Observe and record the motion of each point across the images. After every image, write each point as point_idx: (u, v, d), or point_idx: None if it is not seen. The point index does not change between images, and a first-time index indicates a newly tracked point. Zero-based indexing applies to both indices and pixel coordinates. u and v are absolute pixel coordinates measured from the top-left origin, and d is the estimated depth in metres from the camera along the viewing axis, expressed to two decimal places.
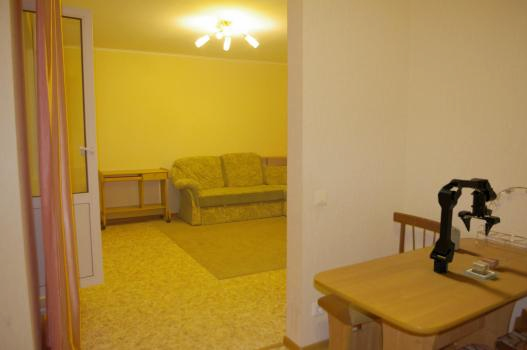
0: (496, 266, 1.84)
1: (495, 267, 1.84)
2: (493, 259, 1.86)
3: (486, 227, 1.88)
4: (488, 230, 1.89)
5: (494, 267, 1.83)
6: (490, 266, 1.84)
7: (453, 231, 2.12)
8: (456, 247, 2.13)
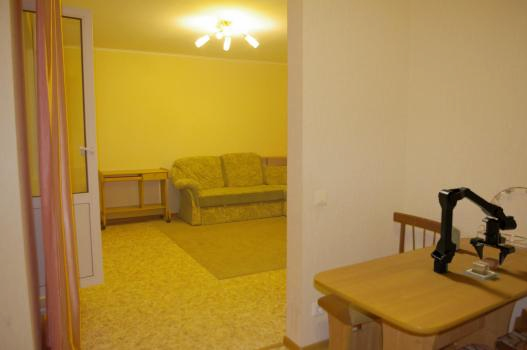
0: (496, 266, 1.84)
1: (495, 267, 1.84)
2: (493, 259, 1.86)
3: (500, 256, 1.79)
4: (502, 259, 1.80)
5: (494, 267, 1.83)
6: (490, 266, 1.84)
7: (453, 231, 2.12)
8: (456, 247, 2.13)
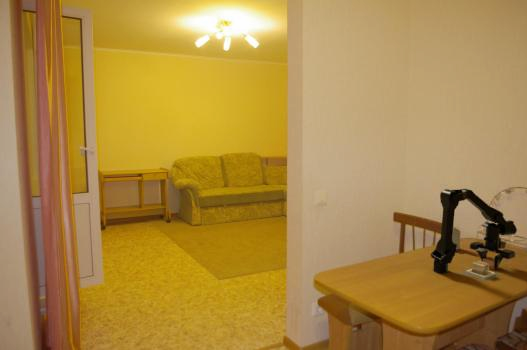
0: None
1: None
2: (493, 259, 1.86)
3: (496, 260, 1.81)
4: (498, 263, 1.82)
5: (494, 267, 1.83)
6: (490, 266, 1.84)
7: (453, 231, 2.12)
8: (456, 247, 2.13)
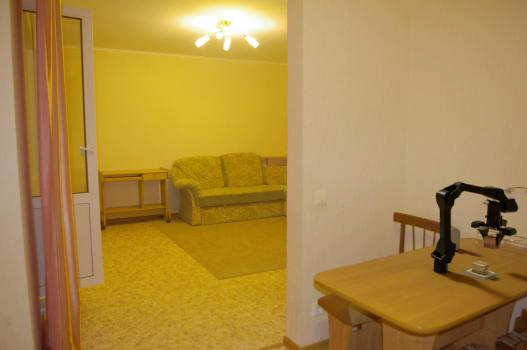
0: None
1: None
2: (494, 237, 1.84)
3: (497, 238, 1.80)
4: (499, 241, 1.81)
5: (495, 245, 1.82)
6: (491, 244, 1.82)
7: (453, 231, 2.12)
8: (456, 247, 2.13)
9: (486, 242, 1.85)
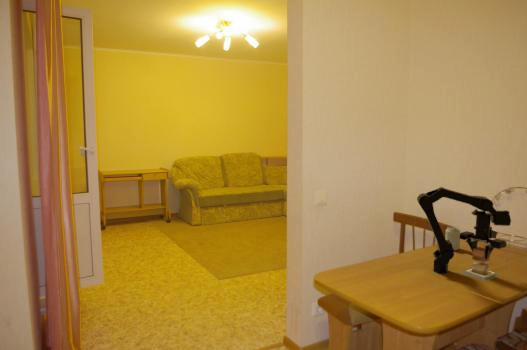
0: None
1: None
2: (484, 249, 1.77)
3: (486, 250, 1.73)
4: (488, 253, 1.74)
5: (484, 257, 1.75)
6: (480, 256, 1.75)
7: (453, 231, 2.12)
8: (456, 247, 2.13)
9: (475, 254, 1.77)
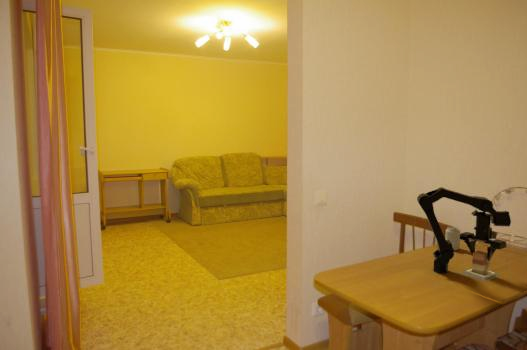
0: (486, 260, 1.76)
1: (485, 261, 1.75)
2: (483, 253, 1.77)
3: (488, 251, 1.72)
4: (491, 254, 1.73)
5: (484, 261, 1.75)
6: (480, 260, 1.75)
7: (453, 231, 2.12)
8: (456, 247, 2.13)
9: (475, 258, 1.78)
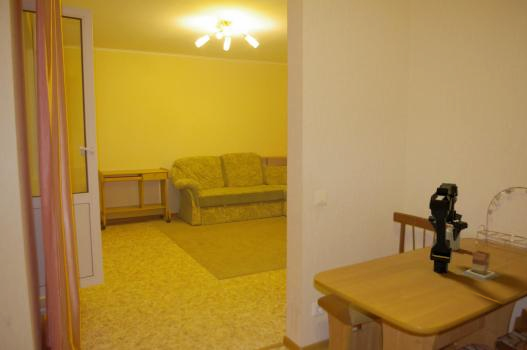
0: (486, 260, 1.76)
1: (485, 261, 1.75)
2: (483, 253, 1.77)
3: (453, 232, 1.88)
4: (456, 235, 1.89)
5: (484, 261, 1.75)
6: (480, 260, 1.75)
7: None
8: (456, 247, 2.13)
9: (475, 258, 1.78)
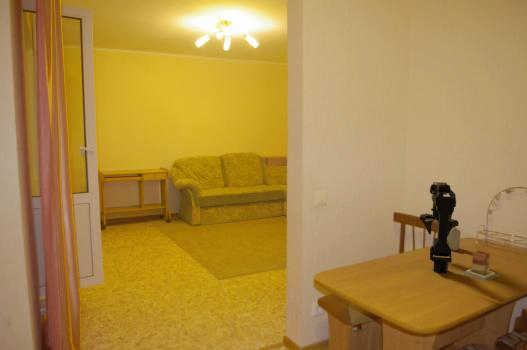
0: (486, 260, 1.76)
1: (485, 261, 1.75)
2: (483, 253, 1.77)
3: None
4: None
5: (484, 261, 1.75)
6: (480, 260, 1.75)
7: (453, 231, 2.12)
8: (456, 247, 2.13)
9: (475, 258, 1.78)
